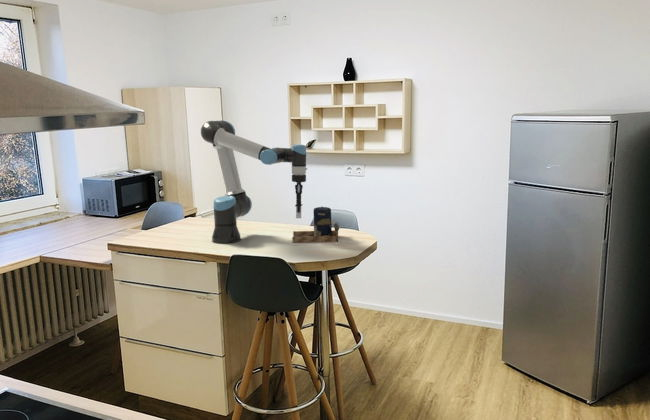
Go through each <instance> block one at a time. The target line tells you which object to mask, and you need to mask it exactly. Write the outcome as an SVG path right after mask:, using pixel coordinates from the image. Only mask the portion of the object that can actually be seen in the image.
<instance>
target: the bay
mask: <svg viewBox="0 0 650 420" xmlns="http://www.w3.org/2000/svg"><path fill="white" fill-rule="evenodd" d="M332 224H333V227H334V228H333V229H334V230H332V236H314V230H297V231H295V230H294V231H292V233H293V234H292V235H293V236H292V238H291V239H292V244H296V243H297V244H299V243H300V244H305V243H307V244H308V243H314V244H315V243H339V230H340V227H339V223H338V221H337V220H334V221H333V222H332Z"/></svg>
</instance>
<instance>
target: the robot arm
mask: <svg viewBox="0 0 650 420" xmlns="http://www.w3.org/2000/svg"><path fill="white" fill-rule="evenodd" d="M200 136H201V138H202V139H203V140H204V141H205V142H207V143H209V144H212V147H213V149H215V150H216V151H217V156H218V157H217V158H218V161H219V164H220V165H219V166H220V169H221V173H222V179H223V181H224V182H223V183H224V185H225V190H226V193H225V194H224V195H223V196H219V197H216V198H214V200H213V207H212V208H213V217H214V228H213V232H212V235H211V236H212V237H211V241H212V242H213V243H214V244H228V243H229V244H233V243H236V242H239V241H241V234H240V231H239V228H238V224H237V222H238V221H237V219H239V218H241V217H245V216H246V215H247V214H249V213H250V211H251V210H252V208H253V207H252V205H253V203H252V200H251V198H250V197H249V196H248V195H247V193H246V190H245V189H244V188H243V187H242V184H241V179H240V175H239V171H238V166H237V162H236V157H235V152H238V153H241V154H243V155H246V156H248V157H251V158H252V159H256V160H259V161H260V162H261V163H262V164H264V165H266V166H267V165H269V166H271V165H273V164H280V163H291V174H292V175H291V182H293V183H296V184H295V185H294V189H295V194H296V204H295V205H294V207H295V219H302V206H303V204H302V194H303V184H302V183H305V182H307V175H306V174H307V170H308V168H307V146H306V145H305V144H292V146H291V148H289V147H272V148H270V147H268V146H265V145H262V144H259V143H257V142H254V141H252V140H249V139H247V138H244V137H241V136H239V135H236V129H235V127H234V125H233V124H232V123H231V122H229V121H226V120H207V121H206V122H205V123H204V124H203V125H202V126H201V128H200ZM234 151H235V152H234Z"/></svg>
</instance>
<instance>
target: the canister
mask: <svg viewBox="0 0 650 420" xmlns="http://www.w3.org/2000/svg"><path fill="white" fill-rule="evenodd" d="M332 224H333V223H332V209H331V207H327V206H319V207H315V208H313V231H314V236H332Z"/></svg>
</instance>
